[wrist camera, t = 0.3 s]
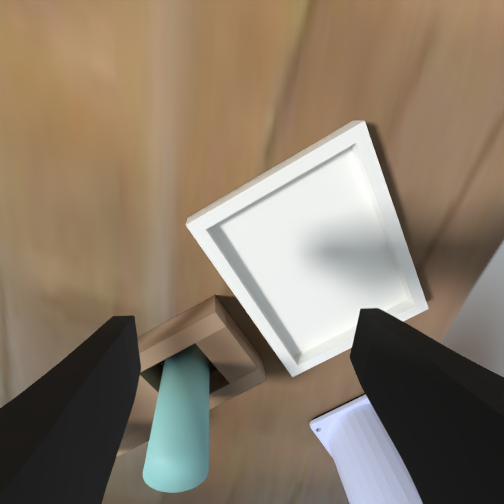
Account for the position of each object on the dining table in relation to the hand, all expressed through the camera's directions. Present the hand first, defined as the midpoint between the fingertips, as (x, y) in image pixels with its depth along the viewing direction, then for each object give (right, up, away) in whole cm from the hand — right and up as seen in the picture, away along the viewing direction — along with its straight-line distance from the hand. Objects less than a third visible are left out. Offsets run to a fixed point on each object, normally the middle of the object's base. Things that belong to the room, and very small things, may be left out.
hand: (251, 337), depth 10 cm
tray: (+4, +2, +11) cm, 12 cm away
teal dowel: (-5, -5, +13) cm, 14 cm away
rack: (-9, -7, +13) cm, 17 cm away
